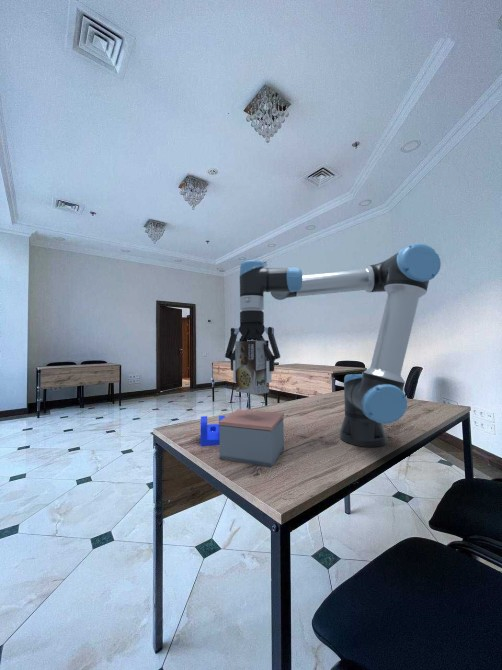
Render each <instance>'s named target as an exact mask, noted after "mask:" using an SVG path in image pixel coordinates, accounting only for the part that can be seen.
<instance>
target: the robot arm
mask: <svg viewBox="0 0 502 670" xmlns="http://www.w3.org/2000/svg"><path fill="white" fill-rule="evenodd" d="M441 264H442V263H441V258H440V256H439V254H438V253H437V251H436V250H435V249H434V248H433V247H431V246H430V245H428V244H426V243H425V244H424V243H419V242H418V243H413V244H410V245H408V246H407V245H406V246H405V247H403V248H401V249H400V250H399V251H398V252H397V253H395V254H394V255H392V256H390V257H389V258H387V259H386V260H383V261H381V262H378V263H375V264H371V265H370V264H369V265H365V267H364V268H358V269H349V270H340V271H330V272H329V271H328V272H319V273H318V272H317V273H309V274H303V272H302V269H301V268H300V267H292V266H290V267H289V266H288V267H265V265H264V262H263V261H261V260H257V259H249V260H248V259H247V260H245V261H243V262H242V263H241V264H240V265H239V266H240V267H239V310H241V311H240V312H239V323H240V324H239V327H236V328H235V327H231V328H230V338H229V340H228V343H227V346H226V347H227V348H226V351H225V354H224V357H225V358H226V359H228V360H230V371H232V373H233V374H232V376H233V378H232V379H233V380H232V381H233V382H236V364H235V341H237V339H238V335H239V333H240V335H241V336H240V338H239V339H238V341H252V340H257V341H259V340H265V337H264V336H263V334H264V333H266V334H267V337H268V341H269V345H270V347H271V349H270V347H267V346H266V345H265V344H264V352H265V354H266V356H267V357H268V359H269V361H266V377H267V383H269V384H270V383H271V382H272V372H275V361H276V360H278V359H280V358H281V354H280V351H279V347H278V344H277V341H276V338H275V335H274V334H275V328H274V327H273V326H268V327H267V326H265V324H264V322H265V314H264V311H263V310H264V309H265V308H264V307H265V306H264V305H265V304H264V303H265V301H264V296H265V295H264V293H270V295H271V296H272V298H274V300H277V301H283V300H285V299H289V298H295V297H306V296H315V295H317V296H318V295H327V294H338V293H348V292H359V291H365V292H366V293H381V292H386V293H387V298H386V300H385V305H384V309H383V314H382V317H381V321H380V327H379V330H378V334H377V339H376V342H375V346H374V347H375V348H374V351H373V355H372V358H371V363H370V367H369V368H368V369H366V370H364V371H363V373H358V374H357V373H353V374H352V373H351V374H346V375H345V376H344V378H343V380H344V381H343V391H344V392H343V393H344V397H343V398H344V416H343V420H342V424H341V426H340V430H339V438H340V440H341V441H343V442H345V443H346V444H347V443H348V444H350V445H353V446H358V447H359V446H360V447H366V448H367V447H368V448H372V447H373V448H374V447H375V448H376V447H382V446H384V445H386V444H387V434H386V432H385V429H384V426H383V424H384V425H386V424H387V425H388V424H392V423H394V422H395V423H396V422H397V421H399V420H400V419H401V418H402V417H403V416H404V415H405V413H406V411H407V408H408V399H407V397H406V395H405V392H404V388H405V380H404V379H403V376H402V375H401V374H402V370H403V366H404V362H405V359H406V353H407V349H408V346H409V341H410V336H411V334H412V329H413V324H414V320H415V316H416V313H417V308H418V304H419V300H420V298H422V297H423V296H425V295H426V294H427V291H428V287H429V283H430V281H431V280H433V279H434V278H435V277H436V276H437V275H438V274H439V272H440V269H441V266H442V265H441ZM271 350H272V351H271Z"/></svg>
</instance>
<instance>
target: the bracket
mask: <svg viewBox="0 0 502 670" xmlns="http://www.w3.org/2000/svg"><path fill="white" fill-rule="evenodd" d="M225 417H226V415H225V414H224V415H218V422H219V421H220V420H222V419H224V418H225ZM219 426H220V425H219V423H218V424H217V423H212V424H211V423H210V424H208V416H207V415H206V416H200V447H206V446H207V447H208V446H220V431H219ZM212 431H213V432H212Z"/></svg>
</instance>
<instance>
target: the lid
mask: <svg viewBox="0 0 502 670" xmlns="http://www.w3.org/2000/svg"><path fill="white" fill-rule="evenodd" d="M284 417H285V413H284V412H273V411H262V410H250V409H239V408H238V409H236V410H234V411H233V412H231V413H230V414H228V415H227V416H225V418H224V419H222V420H220V421H219V420H218V424H219V425H224V426H233V427H242V428H251V429H260V430H269V431H272V430H273V429H274V427H275V426H276V425H277V424H278V423H279V422H280V420H281V419H282V418H283V419H284Z"/></svg>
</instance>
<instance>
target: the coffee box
mask: <svg viewBox="0 0 502 670" xmlns="http://www.w3.org/2000/svg"><path fill="white" fill-rule="evenodd" d="M264 344H265V345H266V346H267V347H269V345H270V341H269V339H268V340H266V339H264V340H259V341H257V340H247V341H239V340H236V341H235V346H234V350H235V364H236V381H235V392H236V393H244V394H251V395H263V394H267V393H270V383H267V377H266V361H269V359H268V357H267V356H266V354H265V352H264ZM269 348H270V347H269Z"/></svg>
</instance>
